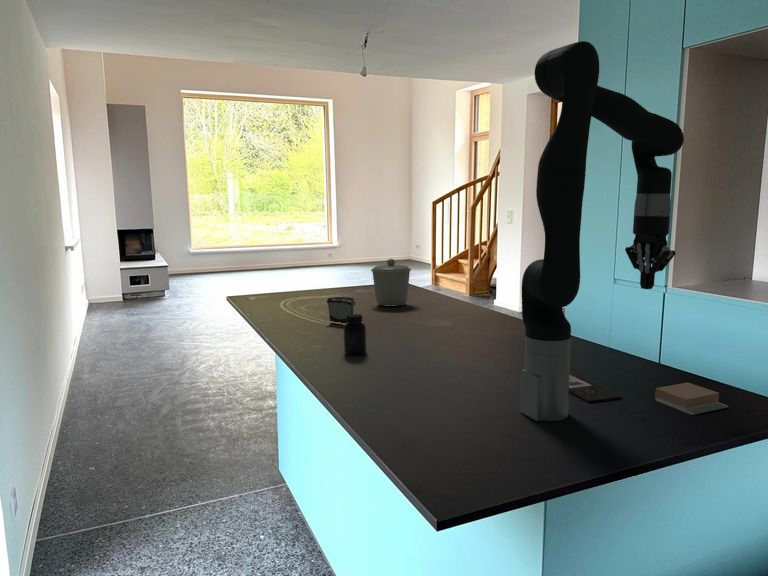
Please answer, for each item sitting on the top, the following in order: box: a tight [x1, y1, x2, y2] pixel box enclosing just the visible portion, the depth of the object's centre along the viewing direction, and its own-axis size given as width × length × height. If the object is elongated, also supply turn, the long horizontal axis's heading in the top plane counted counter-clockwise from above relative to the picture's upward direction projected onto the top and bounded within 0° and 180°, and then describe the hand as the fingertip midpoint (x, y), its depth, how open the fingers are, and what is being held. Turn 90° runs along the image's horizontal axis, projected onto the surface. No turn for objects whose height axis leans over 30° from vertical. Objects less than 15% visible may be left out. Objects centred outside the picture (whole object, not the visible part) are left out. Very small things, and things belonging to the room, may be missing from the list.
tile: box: [654, 382, 720, 410], centre depth 124 cm, size 10×2×8 cm
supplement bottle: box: [343, 313, 367, 357], centre depth 169 cm, size 7×7×12 cm
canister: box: [370, 258, 412, 306], centre depth 249 cm, size 18×18×21 cm
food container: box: [326, 296, 356, 323], centre depth 213 cm, size 12×6×10 cm, turn 58°
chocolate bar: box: [569, 374, 623, 404], centre depth 135 cm, size 9×1×18 cm
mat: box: [655, 399, 729, 416], centre depth 123 cm, size 11×9×1 cm
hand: (646, 288), depth 129 cm, fingers closed
